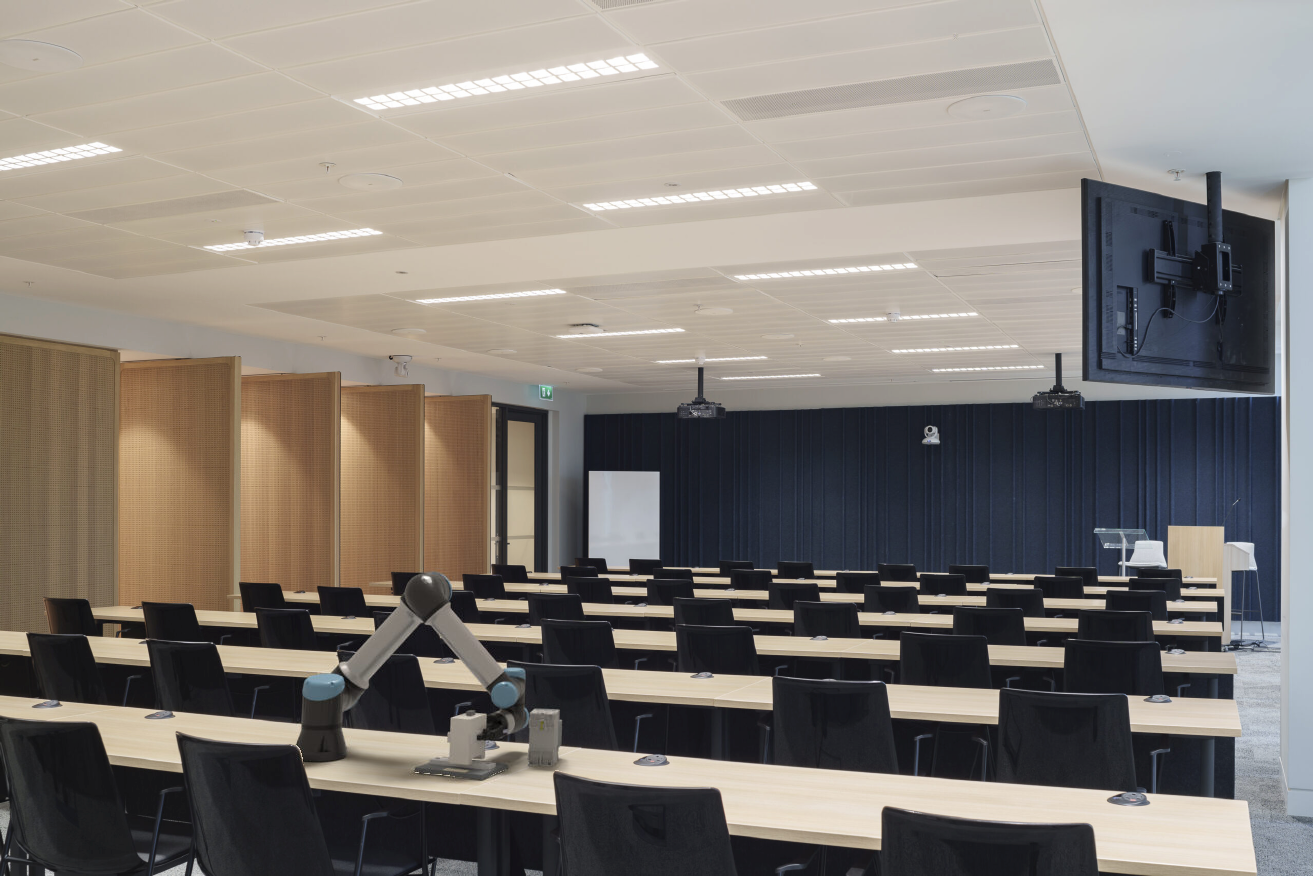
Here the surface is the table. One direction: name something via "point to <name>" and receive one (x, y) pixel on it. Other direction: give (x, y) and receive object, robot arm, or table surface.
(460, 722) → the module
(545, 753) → the circuit breaker
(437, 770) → the panel
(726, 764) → the table surface
